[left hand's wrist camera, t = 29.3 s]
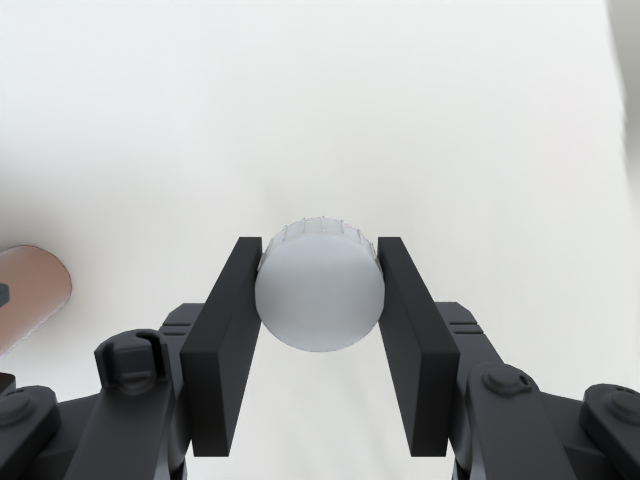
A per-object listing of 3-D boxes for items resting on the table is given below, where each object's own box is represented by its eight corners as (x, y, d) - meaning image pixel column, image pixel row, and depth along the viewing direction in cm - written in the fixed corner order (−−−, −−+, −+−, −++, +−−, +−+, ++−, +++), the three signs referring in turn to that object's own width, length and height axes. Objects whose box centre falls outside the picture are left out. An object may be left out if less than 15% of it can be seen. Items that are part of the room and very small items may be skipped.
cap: (296, 193, 13) (293, 209, 12) (402, 252, 14) (413, 275, 13) (240, 291, 15) (229, 318, 13) (340, 341, 15) (342, 372, 14)
